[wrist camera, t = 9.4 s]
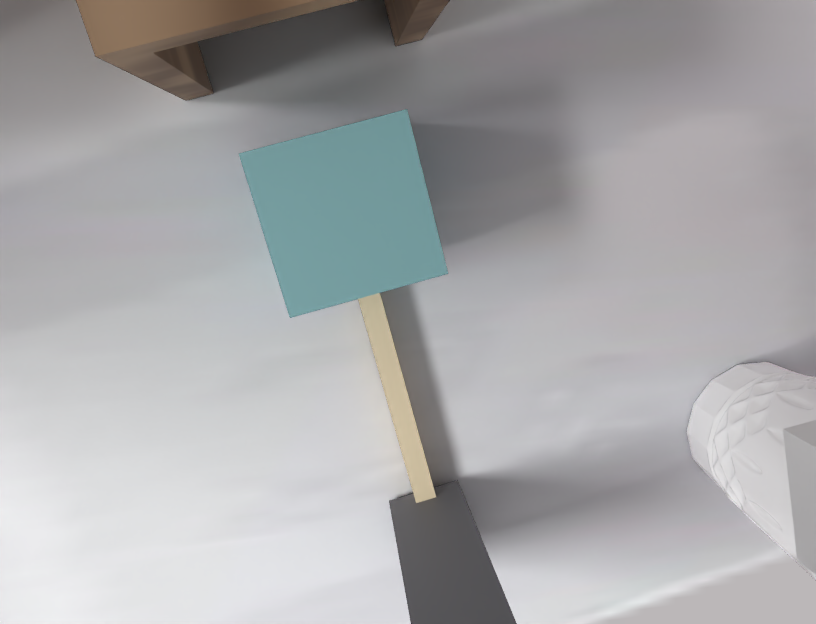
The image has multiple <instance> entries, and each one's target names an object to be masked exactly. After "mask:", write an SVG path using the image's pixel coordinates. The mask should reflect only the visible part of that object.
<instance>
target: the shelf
mask: <svg viewBox="0 0 816 624" xmlns="http://www.w3.org/2000/svg"><path fill="white" fill-rule="evenodd" d="M354 1H358V0H76V2H77V5H78V8H79V11H80V13H81V16H82V19H83V22H84V25H85V28H86V31H87V34H88V36H89V39H90V42H91V45H92V48H93V51H94V54H95V56H96V57H98V58H100V59H102V60H104V61H106V62H108V63H110V64H112V65H114V66H116V67H118V68H120V69H122V70H124V71H126V72H128V73H130V74H133V75H135V76H137V77H139V78H141V79H143V80H145V81H147V82H149V83H151V84H153V85H155V86H157V87H159V88H161V89H163V90H165V91H167V92H169V93H171V94H173V95H175V96H177V97H180V98H182V99H184V100H190V99H194V98H198V97H202V96H206V95H210V94H213V90H212V86H211V83H210V80H209V77H208V74H207V71H206V67H205V64H204V61H203V58H202V55H201V51H200V48H199V45H198V42H197V41H201V40H205V39H209V38H213V37H217V36H221V35H225V34H229V33H233V32H236V31H240V30H244V29H248V28H252V27H256V26H260V25H264V24H268V23H272V22H276V21H280V20H284V19H288V18H292V17H295V16H299V15H303V14H307V13H311V12H315V11H319V10H323V9H327V8H331V7H335V6H339V5H343V4H347V3H351V2H354ZM384 2H385V6H386V10H387V14H388V18H389V22H390V26H391V30H392V34H393V38H394V42H395V46H399V45H403V44H406V43H410V42H414V41H418V40H422V39H423V38H424V36H425V35H426V33H427V32H428V31H429V29H430V28H431V26H432V25H433V23H434V22H435V21H436V19H437V18H438V16H439V15H440V13H441V12H442V11H443V9H444V8H445V6H446V5H447V3H448V2H449V0H384Z"/></svg>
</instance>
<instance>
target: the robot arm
mask: <svg viewBox="0 0 816 624" xmlns="http://www.w3.org/2000/svg"><path fill="white" fill-rule="evenodd" d="M783 435H784V444H785V453H786V462H787V471H788V480H789V490H790V499H791V508H792V517H793V526H794V535H795V544H796V553H797V560H798V561H800V562H801V563H802V564H803V565H804V566H806V567H807V568H808V569H809V570H810V571H812V572H813V573H814V574H815V575H816V420H813V421H810V422H806V423H803V424H799V425H795V426H792V427H788V428H785V429H783Z"/></svg>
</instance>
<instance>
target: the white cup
mask: <svg viewBox="0 0 816 624" xmlns="http://www.w3.org/2000/svg"><path fill="white" fill-rule="evenodd" d="M813 420H816V377H812V376H806V375H803V374H800V373H796V372H793V371H790V370H788V369H785V368H782V367H780V366H777V365H774V364H772V363H769V362H759V363H749V364H739V365H736V366H734V367H733V368H731V369H729V370H728V371H726V372H724V373H722V374H721V375H719V376H717V377H715V378H714V379H712V380H711V381H710V383H709V384H708V385H707V387H706V388H705V389H704V391H703V392H702V393H701V394H700V396H699V397H698V398H697V400H696V401H695V402H694V404H693V408H692V412H691V416H690V420H689V424H688V428H687V436H688V440H689V445H690V450H691V454H692V458H693V459H694V461H695V462H696V463H697V464H698V465H699V466H700V467H701V469H702V470H703V471H704V472H705V473H706V474H707V475H708V477H709V478H710V479H711V480H713V481H714V482H715V483H716V484H717V485H718V486H719V487H720V488H721V489H723V490H724V492H725V494H726V496H727V497H728V498H729V499H730V500H731V501H732V502H733V503H734V504H735V505H736V506H738V507H739V508H740V509H741V511H742V512H743V513H744V514H745V515H746V516H747V517H748V518H749V519H750V520H751V521H752V522H753V523H755V524H756V525H757V526H758V527H759V528H760V529H761V530H762V531H763V532H764V533H765V534H766V535H767V536H769V537H770V538H771V539H772V540H773V541H774V542H775V543H776V544H777V545H778V546H779V547H780V548H782V549H783V550H784V551H785V552H786V553H787V554H788V555H789V556H790V557H791V558H792V559H793V560H795V561H796V562H797V563H798V564H799V565H800V566H801V567H802V568H803V569H804V570H805V571H806V572H807V573H809V574H810V575H811V576H812V577H813V578H814V579H815V580H816V575H815V574H814V573H813V572H812V571H810V570H809V569H808V568H807V567H806V566H804V565H803V564H802V563H801V562H800V561H798V560H797V553H796V544H795V535H794V526H793V517H792V508H791V499H790V490H789V480H788V471H787V462H786V453H785V444H784V435H783V429H785V428H788V427H792V426H795V425H799V424H803V423H806V422H810V421H813Z"/></svg>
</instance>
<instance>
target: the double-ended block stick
mask: <svg viewBox="0 0 816 624" xmlns="http://www.w3.org/2000/svg"><path fill="white" fill-rule="evenodd" d="M239 156H240V159H241V162H242V166H243V169H244V172H245V175H246V178H247V182H248V185H249V188H250V191H251V195H252V198H253V201H254V204H255V207H256V211H257V214H258V217H259V220H260V223H261V227H262V230H263V233H264V236H265V240H266V243H267V246H268V249H269V252H270V256H271V259H272V262H273V265H274V268H275V272H276V275H277V278H278V281H279V284H280V288H281V291H282V294H283V297H284V301H285V304H286V307H287V310H288V313H289V317H290V318H292V317H295V316H299V315H302V314H306V313H309V312H313V311H317V310H320V309H324V308H327V307H331V306H334V305H338V304H342V303H345V302H349V301H352V300H356V299H358V301H359V304H360V308H361V311H362V315H363V318H364V322H365V325H366V329H367V332H368V336H369V339H370V343H371V346H372V350H373V353H374V357H375V360H376V364H377V367H378V371H379V374H380V378H381V381H382V385H383V389H384V392H385V396H386V399H387V403H388V406H389V410H390V413H391V417H392V420H393V424H394V427H395V431H396V434H397V438H398V441H399V445H400V448H401V452H402V455H403V459H404V462H405V466H406V469H407V473H408V476H409V480H410V483H411V487H412V490H413V494H410V495H407V496H403V497H400V498H396V499H393V500H390V501H389V503H390V509H391V514H392V520H393V525H394V531H395V537H396V542H397V548H398V553H399V559H400V565H401V570H402V576H403V581H404V587H405V593H406V598H407V604H408V609H409V615H410V621H411V624H517V623H516V621H515V619H514V616H513V614H512V611H511V609H510V606H509V604H508V602H507V599H506V597H505V594H504V592H503V589H502V587H501V585H500V582H499V580H498V577H497V575H496V573H495V570H494V568H493V565H492V563H491V560H490V558H489V556H488V553H487V551H486V548H485V546H484V543H483V541H482V539H481V536H480V534H479V531H478V529H477V526H476V524H475V522H474V519H473V517H472V514H471V512H470V509H469V507H468V505H467V502H466V500H465V497H464V495H463V492H462V490H461V488H460V485H459V483H458V480H457V481H454V482H450V483H447V484H444V485H440V486H437V487H433V483H432V480H431V476H430V473H429V469H428V465H427V462H426V458H425V454H424V451H423V447H422V444H421V440H420V436H419V433H418V429H417V425H416V422H415V418H414V415H413V411H412V407H411V404H410V400H409V397H408V393H407V389H406V386H405V382H404V378H403V375H402V371H401V368H400V364H399V360H398V357H397V353H396V349H395V346H394V342H393V339H392V335H391V331H390V328H389V324H388V321H387V317H386V313H385V310H384V306H383V302H382V299H381V295H380V293H381V292H385V291H388V290H392V289H395V288H399V287H402V286H406V285H410V284H413V283H417V282H420V281H424V280H427V279H431V278H435V277H438V276H442V275H445V274H448V271H447V267H446V263H445V259H444V255H443V251H442V247H441V243H440V239H439V235H438V231H437V227H436V223H435V219H434V215H433V211H432V207H431V203H430V199H429V195H428V191H427V187H426V183H425V179H424V175H423V171H422V167H421V163H420V159H419V155H418V151H417V147H416V143H415V139H414V135H413V131H412V127H411V123H410V119H409V115H408V111H407V109H405V110H402V111H398V112H394V113H390V114H387V115H383V116H379V117H375V118H371V119H368V120H364V121H360V122H356V123H353V124H349V125H345V126H341V127H337V128H334V129H330V130H326V131H322V132H319V133H315V134H311V135H307V136H303V137H300V138H296V139H292V140H288V141H284V142H281V143H277V144H273V145H269V146H266V147H262V148H258V149H254V150H250V151H247V152H243V153H239Z"/></svg>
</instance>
